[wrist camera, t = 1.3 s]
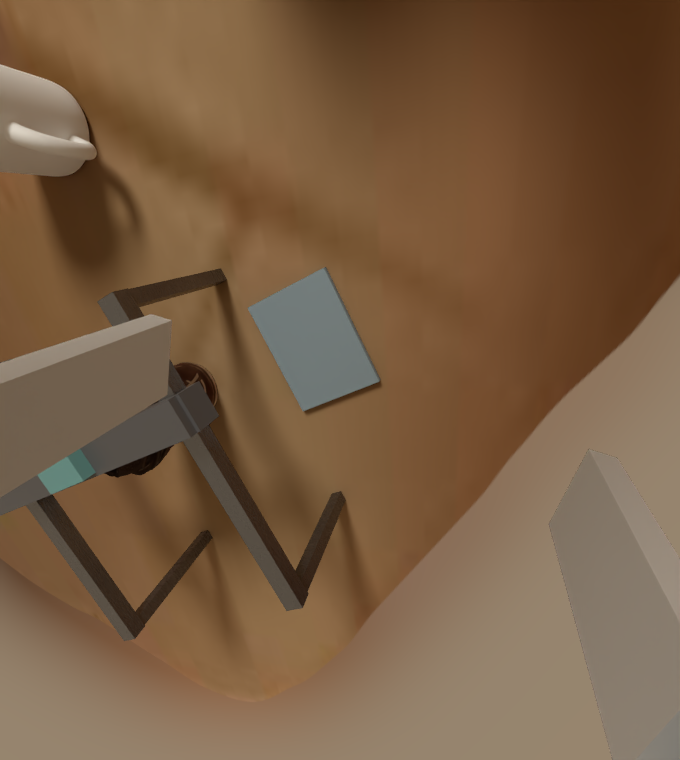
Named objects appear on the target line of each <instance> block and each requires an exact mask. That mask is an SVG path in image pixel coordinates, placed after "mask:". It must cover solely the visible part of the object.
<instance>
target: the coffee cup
mask: <svg viewBox="0 0 680 760" xmlns="http://www.w3.org/2000/svg"><path fill="white" fill-rule="evenodd" d="M174 367H175V369H176V371H177V372H178V374H179V376H180V377H181V379H182V381H183V383H184V384H185V386H186V387H188V386H190V385H192V384H194V383H196V382H198V381H199V382H200V384H201V385H202V387H203V389H204V391H205V392H206V394H207V396H208V397H209V399H210V401H211V403H212V404H213V406H215V404H216V402H217V399H218V393H217V387H216V384H215V381H214V379H213V376H212V375H211V373H210V372H209V371H208V370H207V369H205V368H204V367H202V366H200V365H197V364H193V363H180V364H177V365H174ZM155 403H158V401H157V402H155ZM155 403H153V404H155ZM153 404H152V405H153ZM150 406H151V405H150ZM148 407H149V406H148ZM173 446H174V445H172V446H169V447H167V448H165V449H162V450H160V451H157V452H155V453H152V454H150V455H147V456H145V457H142V458H140V459H138V460H135V461H133V462H130V463H128V464H125V465H123V466H120V467H118V468H115V469H113V470H111V471H108V472H106V473H104V474H107V475H109V476H115V477H120V476H124V475H128V474H131V473H133V474H135V475H142V474H145V473H146V472H148V471H149V470H152V469H153V468H155V467H156V466H157V465H158V464H159V463H160V462H161V461H162V460H163V458H164V457H165V456H166V455H167V453H168V452H169V450H170V448H171V447H173Z"/></svg>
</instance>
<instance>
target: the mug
mask: <svg viewBox="0 0 680 760" xmlns="http://www.w3.org/2000/svg"><path fill="white" fill-rule="evenodd" d="M96 155H97V151H96V148H95V147H94V146H93V145H92V144H91V143H90V139H89V129H88V125H87V121H86V118H85V115H84V113H83V111H82V109H81V107H80V105H79V104H78V102H77V101H76V100H75V98H74V97H73V96H72V95H71V94H70V93H69V92H68V91H67V90H66V89H64V88H63V87H61V86H59V85H58V84H56V83H54V82H51V81H49V80H46V79H43V78H40V77H37V76H34V75H31V74H28V73H25V72H22V71H19V70H15V69H12V68H9V67H6V66H3V65H0V172H9V173H20V174H31V175H42V176H56V177H60V176H67V175H70V174H73V173H74V172H76V171H77V170H78V169H80V167H81V166H82V165H83V163H84V162H85V160H92V159H94V158H95V157H96Z"/></svg>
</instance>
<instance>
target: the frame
mask: <svg viewBox="0 0 680 760" xmlns="http://www.w3.org/2000/svg"><path fill="white" fill-rule="evenodd" d="M225 280H227V279H226V277H225V276H224V274H223V272H222V270H221V269H216V270H212V271H207V272H203V273H198V274H194V275H189V276H185V277H181V278H176V279H172V280H167V281H163V282H158V283H154V284H149V285H145V286H140V287H136V288H131V289H124V290H119V291H115V292H112V293H110V294H109V295H107V296H105V297H104V298H102V299H101V300H99V301H98V304H99V305H100V307H101V308H102V310H103V312H104V313H105V315H106V317H107V318H108V320H109V321H110V323H111V325H112V326H116V325H119V324H122V323H125V322H128V321H131V320H134V319H138V318H141V317H144V315H143V313H142V312H141V310H140V308H139V307H142V306H145V305H149V304H152V303H156V302H159V301H163V300H166V299H170V298H173V297H177V296H180V295H184V294H187V293H191V292H194V291H198V290H201V289H205V288H208V287H212V286H215V285H218V284H220V283H222V282H223V281H225ZM185 388H186V386H185V384H184V383H183V381H182V379H181V377H180V376H179V374H178V372H177V371H176V369H175V367H174V366H173V364H172V362H171V361H170V359H169V375H168V392H167V395H166V396H165V397H163V398H161V399H160V400H158V402H160V401H162V400H164V399H166V398H168V397H170V396H173V395H175V394H177V393H178V392H180V391H182V390H183V389H185ZM183 442H184V444H185V446H186V447H187V449H188V451H189V452H190V454H191V455H192V457H193V459H194V460H195V462H196V464H197V465H198V467H199V469H200V470H201V472H202V473H203V475H204V477H205V478H206V480H207V482H208V483H209V485H210V486H211V488H212V490H213V491H214V493H215V495H216V496H217V498H218V500H219V501H220V503H221V504H222V506H223V508H224V509H225V511H226V513H227V514H228V516H229V518H230V519H231V521H232V522H233V524H234V526H235V527H236V529H237V531H238V532H239V534H240V536H241V537H242V539H243V540H244V542H245V544H246V545H247V547H248V549H249V550H250V552H251V553H252V555H253V557H254V558H255V560H256V562H257V563H258V565H259V567H260V568H261V570H262V571H263V573H264V575H265V576H266V578H267V580H268V581H269V583H270V585H271V586H272V588H273V589H274V591H275V593H276V594H277V596H278V598H279V599H280V601H281V603H282V604H283V606H284V607H285V609H286V611H289V610H294V609H300V608H303V606H304V603H305V601H306V599H307V596H308V589H309V587H310V584H311V582H312V580H313V577H314V575H315V572H316V570H317V568H318V565H319V563H320V560H321V558H322V556H323V553H324V551H325V548H326V546H327V544H328V541H329V539H330V536H331V534H332V531H333V529H334V527H335V524H336V522H337V519H338V517H339V515H340V512H341V510H342V507H343V505H344V503H345V498H344V496H343V494H342V492H341V491H340V492H337V493H333V494H331V497H330V499H329V501H328V503H327V505H326V507H325V509H324V511H323V513H322V516H321V518H320V520H319V522H318V524H317V526H316V528H315V530H314V532H313V535H312V537H311V539H310V541H309V543H308V545H307V547H306V549H305V551H304V554H303V556H302V558H301V560H300V562H299V564H298V566H297V568H296V570H294V568H293V567H292V565H291V563H290V561H289V560H288V558H287V556H286V555H285V553H284V551H283V550H282V548H281V546H280V545H279V543H278V541H277V540H276V538H275V536H274V534H273V533H272V531H271V529H270V528H269V526H268V524H267V523H266V521H265V519H264V518H263V516H262V514H261V513H260V511H259V509H258V507H257V506H256V504H255V502H254V501H253V499H252V497H251V496H250V494H249V492H248V491H247V489H246V487H245V485H244V484H243V482H242V480H241V479H240V477H239V475H238V474H237V472H236V470H235V469H234V467H233V465H232V464H231V462H230V460H229V458H228V457H227V455H226V453H225V452H224V450H223V448H222V447H221V445H220V443H219V442H218V440H217V438H216V437H215V435H214V433H213V431H212V430H211V428H210V426H209V425H207V426H206V427H205V428H204V429H203V430H201V431H200V432H197V433H196V434H195V435H194V436H192V437H191V438H189V439H187V440H184V441H183ZM26 506H27V508H28V509H29V510H30V512H31V513H32V514H33V516H34V517H35V519H36V520H37V521H38V523H39V524H40V526H41V527H42V528H43V530H44V531H45V532H46V534H47V535H48V537H49V538H50V539H51V541H52V542H53V543H54V545H55V546H56V548H57V549H58V550H59V552H60V553H61V554H62V556H63V557H64V559H65V560H66V561H67V563H68V564H69V566H70V567H71V568H72V570H73V571H74V572H75V574H76V575H77V577H78V578H79V579H80V581H81V582H82V583H83V585H84V586H85V588H86V589H87V590H88V592H89V593H90V595H91V596H92V597H93V599H94V600H95V601H96V603H97V604H98V606H99V607H100V608H101V610H102V611H103V612H104V614H105V615H106V617H107V618H108V619H109V621H110V622H111V623H112V625H113V626H114V628H115V629H116V630H117V632H118V633H119V635H120V636H121V637H122V639H123V640H124V641H126V640H132V639H135V638H136V637H137V636H138V634H139V633H140V632H141V631H142V629H143V628H144V627H145V624H146V623H147V621H148V620H149V619H150V617H151V616H152V615H153V614H154V612H155V611H156V610H157V608H158V607H159V606H160V605H161V603H162V602H163V601H164V599H165V598H166V597H167V596H168V594H169V593H170V592H171V590H172V589H173V588H174V587H175V585H176V584H177V583H178V581H179V580H180V579H181V578H182V576H183V575H184V574H185V572H186V571H187V570H188V569H189V567H190V566H191V565H192V563H193V562H194V561H195V560H196V558H197V557H198V556H199V554H200V553H201V552H202V551H203V549H204V548H205V547H206V545H207V544H208V543H209V542H210V540H211V539H212V536H211V535H210V533H209V531H208V530H207V531H204V532H201V533H200V534H199V535H198V537H197V538H196V539H195V540H194V541H193V543H192V544H191V545H190V546H189V547H188V549H187V550H186V551H185V552H184V553H183V555H182V556H181V557H180V558H179V559H178V561H177V562H176V563H175V564H174V566H173V567H172V568H171V569H170V570H169V572H168V573H167V574H166V575H165V576H164V578H163V579H162V580H161V581H160V582H159V584H158V585H157V586H156V587H155V589H154V590H153V591H152V592H151V593H150V595H149V596H148V597H147V598H146V599H145V601H144V602H143V603H142V604H141V605H140V607H139V608H138V609H137V610H136V611H134V610H133V608H132V607H131V605H130V604H129V602H128V601H127V600H126V598H125V597H124V595H123V594H122V593H121V591H120V590H119V588H118V587H117V585H116V584H115V583H114V581H113V580H112V578H111V577H110V576H109V574H108V573H107V571H106V570H105V568H104V567H103V566H102V564H101V563H100V561H99V560H98V559H97V557H96V556H95V554H94V553H93V551H92V550H91V549H90V547H89V546H88V544H87V543H86V542H85V540H84V539H83V537H82V536H81V534H80V533H79V532H78V530H77V529H76V527H75V526H74V524H73V523H72V522H71V520H70V519H69V517H68V516H67V515H66V513H65V512H64V510H63V509H62V507H61V506H60V505H59V503H58V502H57V500H56V499H55V498H54V496H53V495H49V496H47V497H44V498H42V499H40V500H37V501H35V502H32V503H30V504H27V505H26Z"/></svg>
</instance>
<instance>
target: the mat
mask: <svg viewBox="0 0 680 760" xmlns="http://www.w3.org/2000/svg"><path fill="white" fill-rule="evenodd" d="M248 310H249V312H250V313H251V315H252V317H253V319H254V321H255V323H256V325H257V326H258V328H259V330H260V332H261V334H262V336H263V338H264V340H265V341H266V343H267V345H268V347H269V349H270V351H271V353H272V354H273V356H274V358H275V360H276V362H277V364H278V366H279V367H280V369H281V371H282V373H283V375H284V377H285V379H286V381H287V382H288V384H289V386H290V388H291V390H292V392H293V394H294V395H295V397H296V399H297V401H298V403H299V405H300V407H301V408H302V410H303V411H305V410H308V409H310V408H313V407H315V406H318V405H320V404H323V403H326V402H328V401H331V400H333V399H336V398H339V397H341V396H344V395H346V394H349V393H351V392H354V391H357V390H359V389H362V388H364V387H367V386H369V385H372V384H375V383H377V382H379V381H380V378H379V376H378V374H377V371H376V369H375V367H374V365H373V363H372V361H371V359H370V357H369V355H368V353H367V351H366V349H365V347H364V345H363V343H362V341H361V339H360V336H359V334H358V332H357V330H356V328H355V326H354V324H353V322H352V320H351V318H350V316H349V314H348V312H347V310H346V308H345V306H344V304H343V301H342V299H341V297H340V295H339V293H338V291H337V289H336V287H335V285H334V283H333V281H332V279H331V277H330V275H329V273H328V271H327V269H326V267H325V268H323V269H321V270H319V271H317V272H315V273H313V274H311V275H309V276H307V277H305V278H303V279H302V280H300V281H298V282H296V283H294V284H292V285H290V286H288V287H286V288H284V289H283V290H281V291H279V292H277V293H275V294H273V295H271V296H269V297H267V298H265V299H264V300H262V301H260V302H258V303H256V304H254V305H252V306H250V307H248Z"/></svg>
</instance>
